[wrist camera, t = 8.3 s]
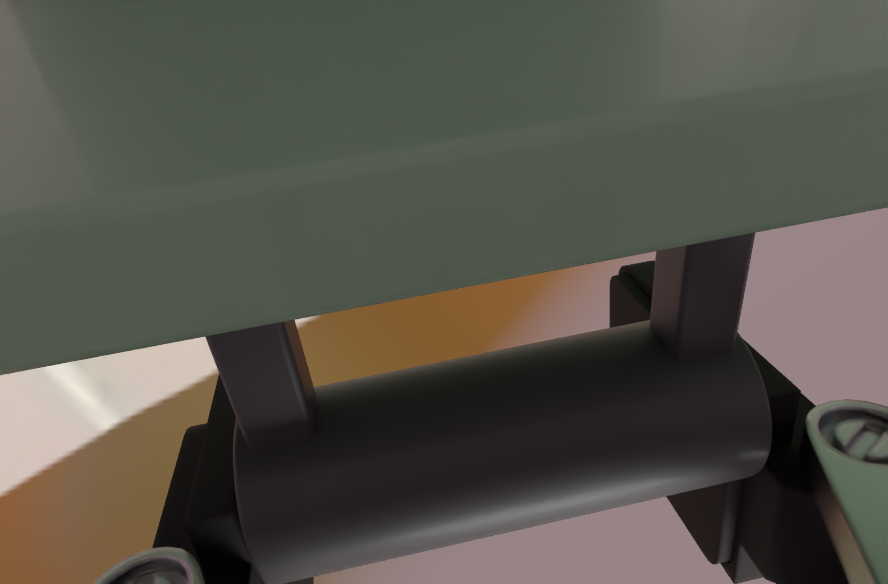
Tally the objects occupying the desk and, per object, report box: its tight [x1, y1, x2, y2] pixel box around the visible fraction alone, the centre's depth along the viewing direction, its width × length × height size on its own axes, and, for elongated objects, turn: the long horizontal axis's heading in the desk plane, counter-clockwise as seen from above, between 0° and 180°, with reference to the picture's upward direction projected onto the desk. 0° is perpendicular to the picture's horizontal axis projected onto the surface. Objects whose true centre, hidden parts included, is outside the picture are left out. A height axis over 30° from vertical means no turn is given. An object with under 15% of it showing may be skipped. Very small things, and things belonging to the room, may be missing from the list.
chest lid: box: [0, 0, 888, 584], centre depth 11 cm, size 15×17×6 cm
